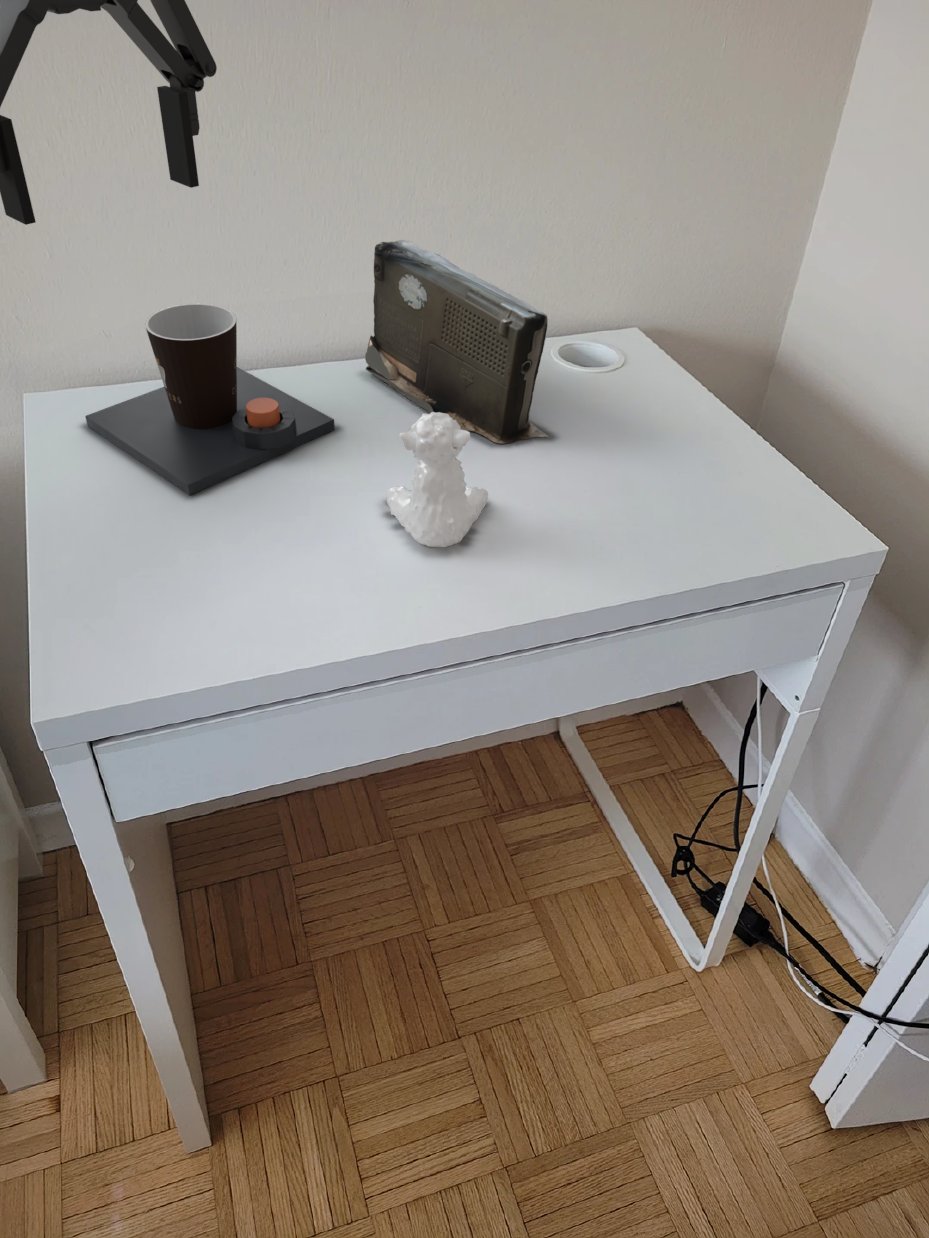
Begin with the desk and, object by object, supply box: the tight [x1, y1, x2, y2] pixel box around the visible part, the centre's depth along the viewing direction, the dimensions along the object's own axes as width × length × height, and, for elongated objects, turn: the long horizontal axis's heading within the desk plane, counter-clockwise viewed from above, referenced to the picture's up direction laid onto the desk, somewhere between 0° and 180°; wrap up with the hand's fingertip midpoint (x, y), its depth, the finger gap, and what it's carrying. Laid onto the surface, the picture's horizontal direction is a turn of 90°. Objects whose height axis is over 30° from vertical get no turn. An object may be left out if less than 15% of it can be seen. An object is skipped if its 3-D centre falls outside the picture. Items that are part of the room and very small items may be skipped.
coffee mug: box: [144, 302, 238, 429], centre depth 96 cm, size 12×9×10 cm
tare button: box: [246, 398, 280, 428], centre depth 94 cm, size 3×3×2 cm
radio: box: [364, 239, 550, 444], centre depth 100 cm, size 23×9×15 cm, turn 37°
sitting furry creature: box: [386, 412, 489, 548], centre depth 83 cm, size 10×9×12 cm
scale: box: [84, 366, 336, 496], centre depth 98 cm, size 18×19×3 cm
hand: (107, 200), depth 70 cm, fingers open, 13 cm apart
